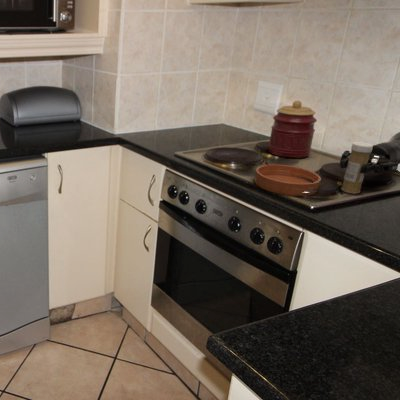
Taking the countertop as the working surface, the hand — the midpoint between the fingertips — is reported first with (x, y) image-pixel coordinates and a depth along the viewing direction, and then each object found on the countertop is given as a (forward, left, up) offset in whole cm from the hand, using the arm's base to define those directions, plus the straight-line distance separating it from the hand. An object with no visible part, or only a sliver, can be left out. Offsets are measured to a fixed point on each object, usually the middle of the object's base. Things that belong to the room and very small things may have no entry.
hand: (352, 166), depth 126 cm
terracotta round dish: (+12, +8, -8) cm, 16 cm away
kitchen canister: (+29, -22, -8) cm, 37 cm away
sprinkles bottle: (0, -3, -8) cm, 8 cm away
